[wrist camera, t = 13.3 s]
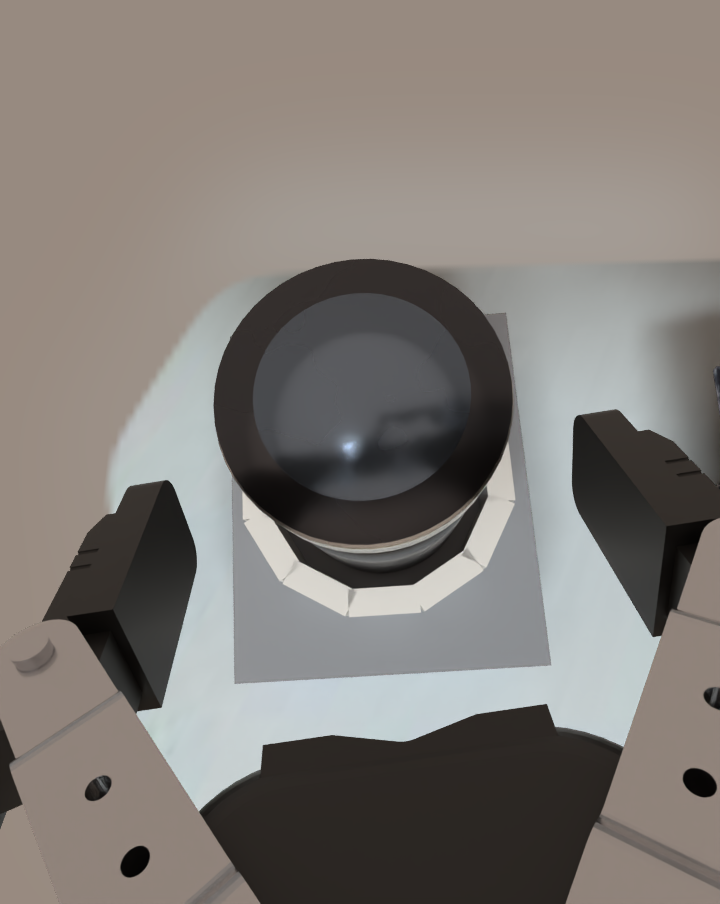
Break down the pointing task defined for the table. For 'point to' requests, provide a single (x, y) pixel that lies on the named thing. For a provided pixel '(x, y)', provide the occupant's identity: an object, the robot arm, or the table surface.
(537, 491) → the table surface
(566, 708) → the table surface
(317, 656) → the grey base with ring
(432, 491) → the lens
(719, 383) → the vintage camera
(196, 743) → the table surface
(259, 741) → the table surface
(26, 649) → the robot arm
